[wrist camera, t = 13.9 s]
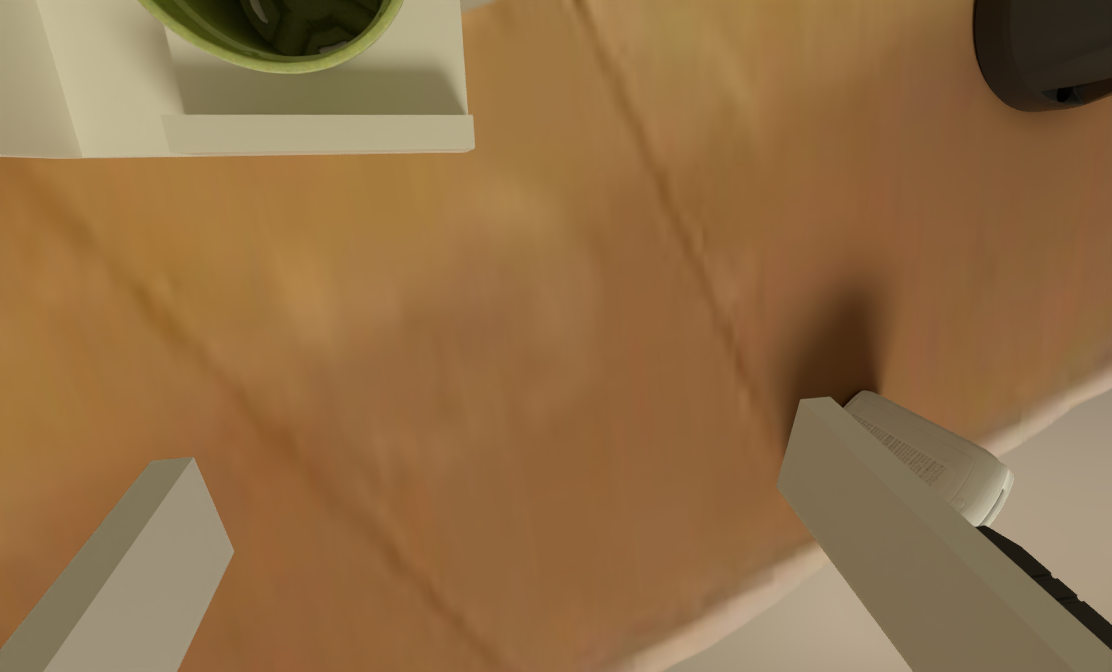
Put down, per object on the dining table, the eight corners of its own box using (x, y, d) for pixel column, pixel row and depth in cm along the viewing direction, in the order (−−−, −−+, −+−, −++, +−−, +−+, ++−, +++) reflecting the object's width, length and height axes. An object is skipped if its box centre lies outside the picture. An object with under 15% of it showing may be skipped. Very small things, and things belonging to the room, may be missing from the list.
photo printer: (806, 493, 45) (936, 602, 34) (779, 471, 44) (906, 577, 32) (885, 405, 44) (1046, 487, 33) (860, 379, 43) (1021, 456, 31)
